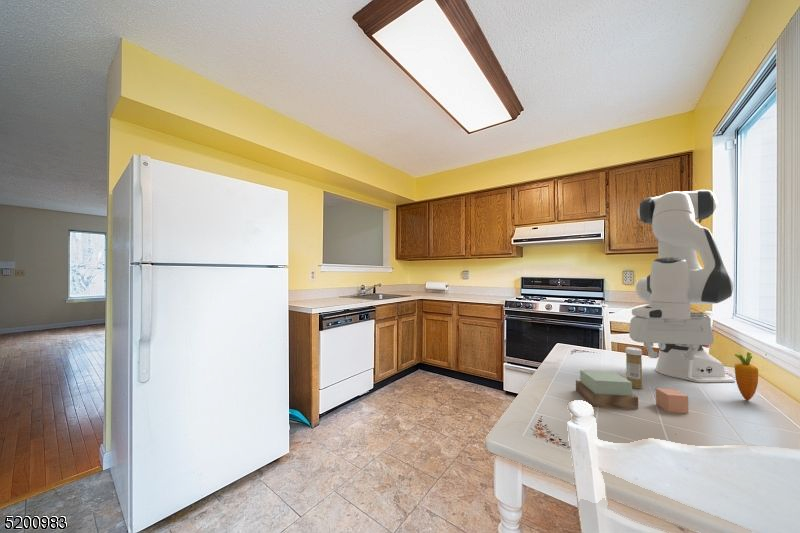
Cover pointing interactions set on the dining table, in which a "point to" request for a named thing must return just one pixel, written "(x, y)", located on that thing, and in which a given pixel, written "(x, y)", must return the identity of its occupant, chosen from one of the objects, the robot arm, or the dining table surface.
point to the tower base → (607, 398)
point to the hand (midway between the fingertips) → (670, 358)
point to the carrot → (746, 376)
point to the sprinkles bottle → (634, 366)
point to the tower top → (606, 382)
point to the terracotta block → (672, 400)
